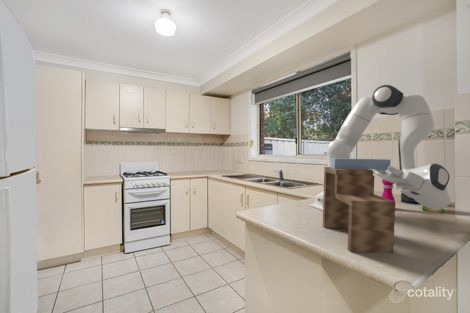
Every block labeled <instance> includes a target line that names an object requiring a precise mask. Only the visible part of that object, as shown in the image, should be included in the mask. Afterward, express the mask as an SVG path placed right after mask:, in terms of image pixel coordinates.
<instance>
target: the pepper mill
mask: <svg viewBox="0 0 470 313" xmlns="http://www.w3.org/2000/svg"><path fill="white" fill-rule="evenodd" d="M381 179H382V180H381V183H382V184H383V185H382V187H383V192H382V194H381V196H380V197H383V198H386V199H389V200H392V201H395V197H394V194H393V188H394V184H395V183H392V182H389V181H386V180H384V179H383V178H381ZM395 202H396V201H395Z"/></svg>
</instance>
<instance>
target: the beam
mask: <svg viewBox="0 0 470 313" xmlns="http://www.w3.org/2000/svg"><path fill="white" fill-rule="evenodd" d="M387 166H391V159H386V158H350V159H345V158H331V168H334V169H368V170H375V169H378V170H386V168H387Z"/></svg>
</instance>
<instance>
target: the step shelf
mask: <svg viewBox="0 0 470 313" xmlns="http://www.w3.org/2000/svg"><path fill="white" fill-rule="evenodd" d="M323 170H324V172H323V175H324V176H323V186H324V187H323V191H324V198H323V210H322V227H323V229H348V230H347V231H348V232H347V233H348V234H347V250H348V251H349V252H350V253H383V254H384V253H386V254H388V253H390V254H393V253H394V245H395V244H394V243H395V242H394V241H395V240H394V239H395V224H396V223H395V220H396V219H395V218H396V201H392V200H389V199H386V198H383V197H381V196H380V195H376V194H375V177H376V176H375V175H374V169H334V168H331V167H328V166H324V168H323Z"/></svg>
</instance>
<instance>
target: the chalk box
mask: <svg viewBox="0 0 470 313" xmlns="http://www.w3.org/2000/svg"><path fill="white" fill-rule="evenodd" d="M421 209H422V211H426V212H432V213H437V214H438V213H439V214H444V210H445V208H443V209H440V210H432V209H429V208H427V207H425V206H423V205H422V208H421Z"/></svg>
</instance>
